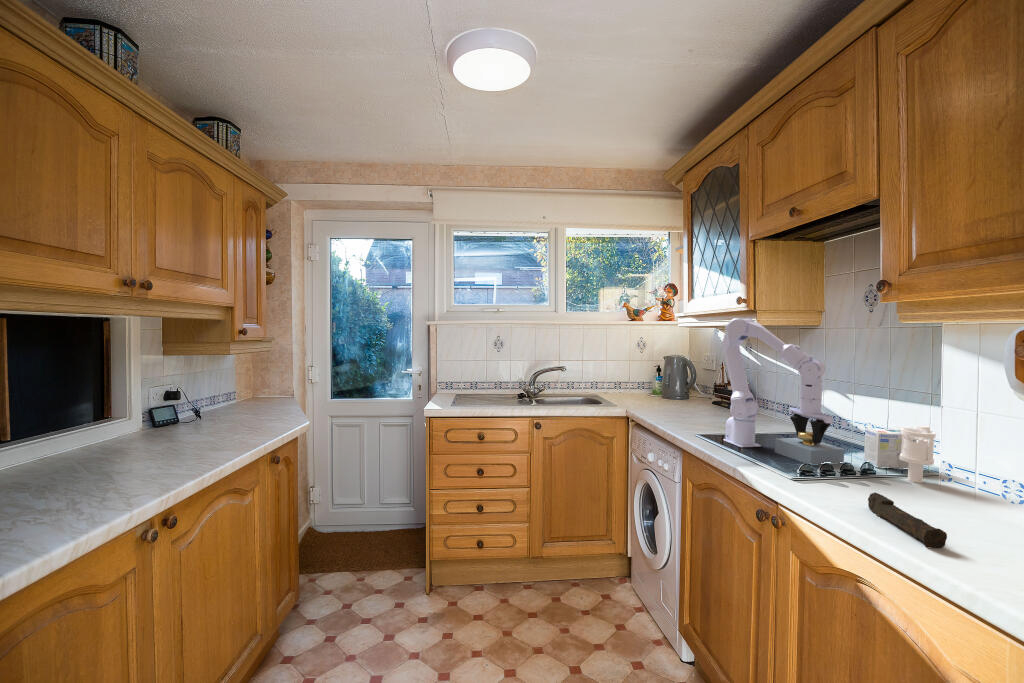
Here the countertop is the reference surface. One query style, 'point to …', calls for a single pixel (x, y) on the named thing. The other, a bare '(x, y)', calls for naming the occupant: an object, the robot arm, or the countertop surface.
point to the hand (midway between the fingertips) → (808, 440)
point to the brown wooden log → (906, 521)
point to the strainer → (917, 450)
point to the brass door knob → (806, 437)
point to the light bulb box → (884, 448)
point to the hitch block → (808, 451)
